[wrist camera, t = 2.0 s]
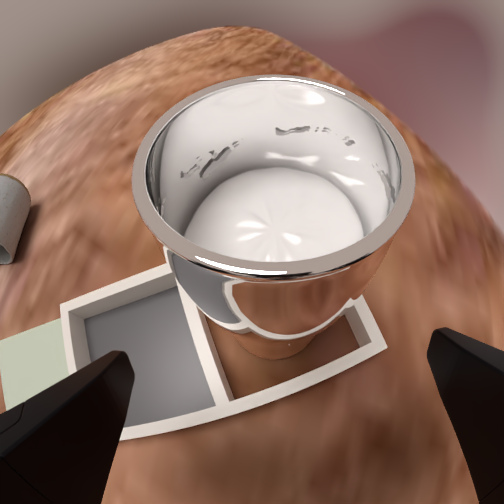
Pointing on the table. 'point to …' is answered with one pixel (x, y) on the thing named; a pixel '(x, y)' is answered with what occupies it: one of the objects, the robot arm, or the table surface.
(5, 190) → the ceramic mug
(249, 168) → the shiny metal tumbler
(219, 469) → the table surface
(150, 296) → the white divided tray
